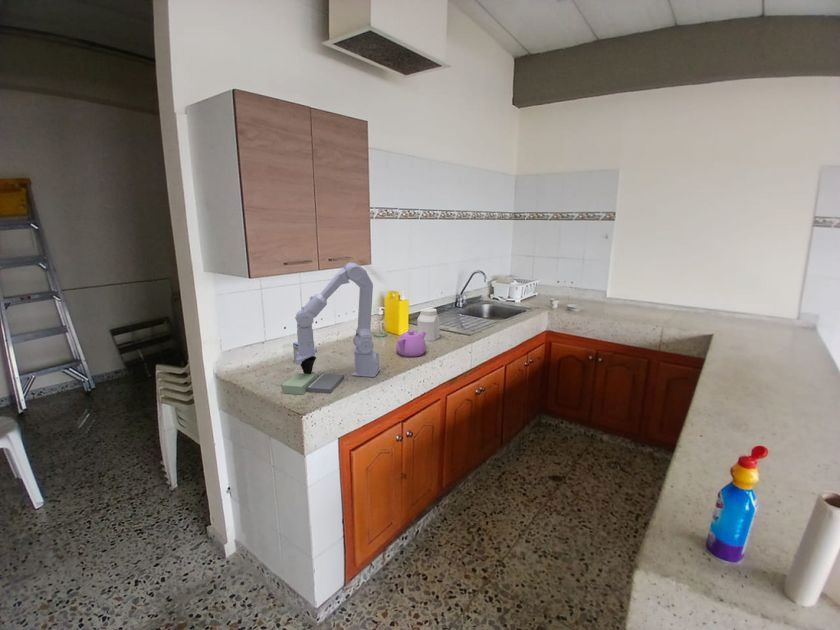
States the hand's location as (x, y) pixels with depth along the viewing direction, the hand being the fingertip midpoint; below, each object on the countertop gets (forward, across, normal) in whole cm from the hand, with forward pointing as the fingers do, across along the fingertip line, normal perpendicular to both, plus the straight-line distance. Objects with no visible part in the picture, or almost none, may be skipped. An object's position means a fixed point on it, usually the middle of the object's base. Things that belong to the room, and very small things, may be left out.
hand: (308, 375), depth 161 cm
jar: (+2, -64, +37) cm, 74 cm away
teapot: (+2, -40, +33) cm, 52 cm away
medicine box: (+2, -21, -11) cm, 24 cm away
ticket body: (+2, +3, +8) cm, 9 cm away
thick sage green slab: (+2, +7, 0) cm, 7 cm away
